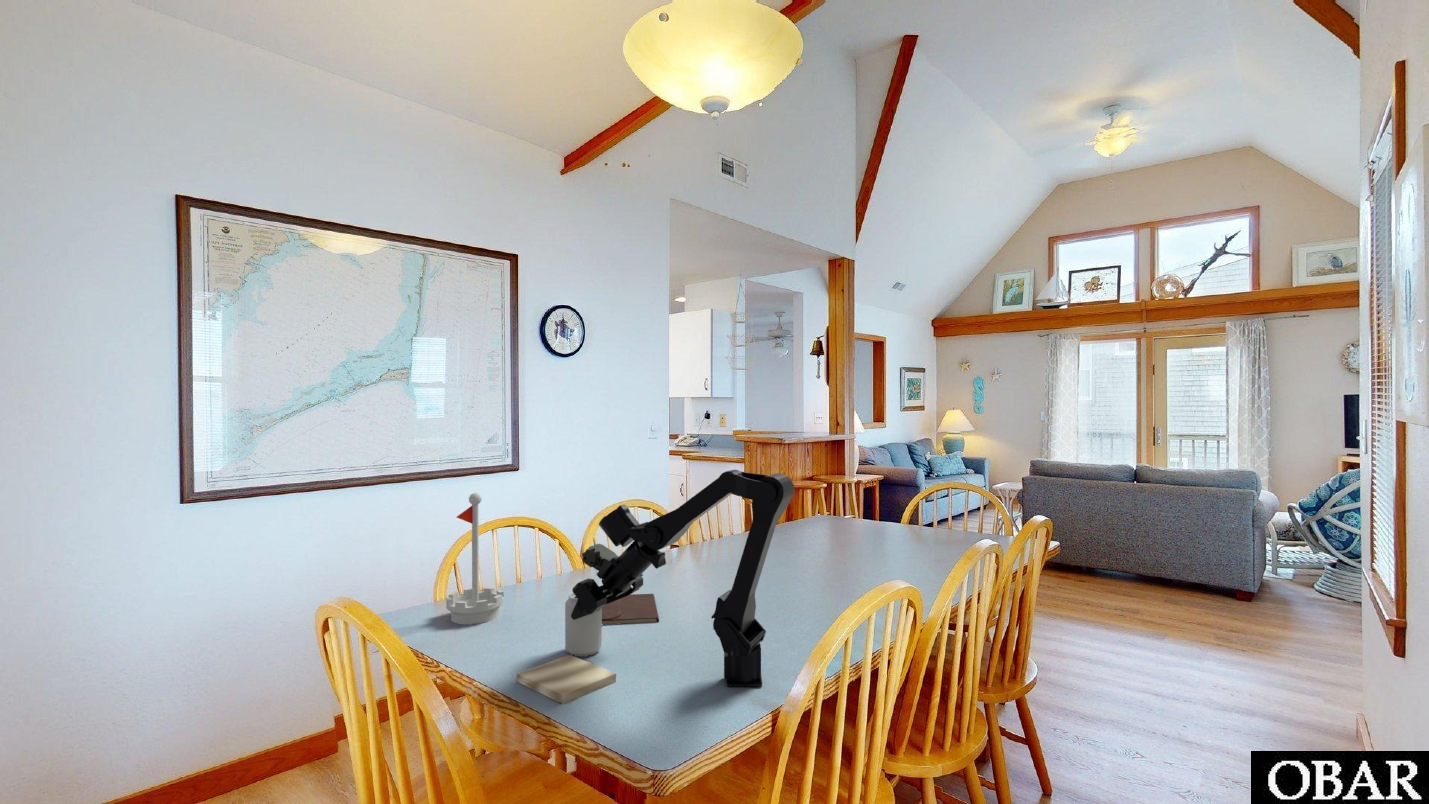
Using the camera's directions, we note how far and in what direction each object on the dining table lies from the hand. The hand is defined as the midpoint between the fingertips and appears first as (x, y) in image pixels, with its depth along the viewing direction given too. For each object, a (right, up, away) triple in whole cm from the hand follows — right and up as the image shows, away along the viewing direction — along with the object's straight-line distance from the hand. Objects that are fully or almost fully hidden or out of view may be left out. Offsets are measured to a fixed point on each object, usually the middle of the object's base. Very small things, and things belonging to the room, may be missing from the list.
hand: (585, 611), depth 138 cm
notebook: (+5, -9, +27) cm, 29 cm away
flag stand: (-31, -9, +23) cm, 40 cm away
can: (0, -9, 0) cm, 9 cm away
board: (-1, -8, -15) cm, 17 cm away
